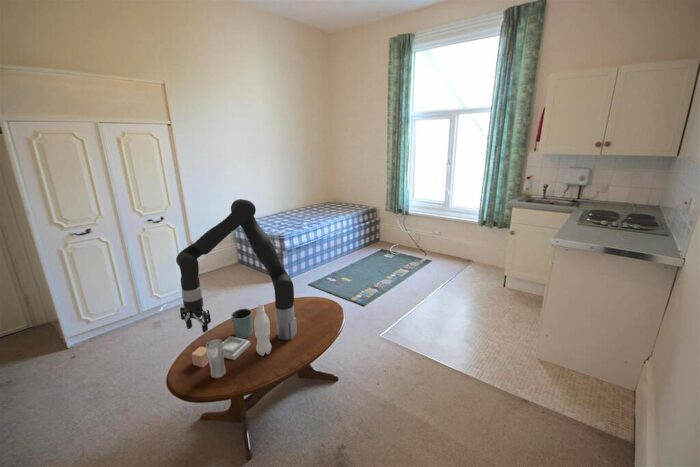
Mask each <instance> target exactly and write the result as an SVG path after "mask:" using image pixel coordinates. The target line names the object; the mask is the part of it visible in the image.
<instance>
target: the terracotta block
mask: <svg viewBox="0 0 700 467" xmlns="http://www.w3.org/2000/svg"><path fill="white" fill-rule="evenodd" d="M191 358H192V364H193V366H196V367H200V368H204V367H206V365H208V364H209V361H208V359H207V354H206V346H199V347H197V349H195V350H194V351H193V352H192V353H191Z"/></svg>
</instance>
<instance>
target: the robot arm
mask: <svg viewBox="0 0 700 467" xmlns="http://www.w3.org/2000/svg"><path fill="white" fill-rule="evenodd" d="M256 211H257V210H256V206H255V203H253V202H252V201H250V200H248V199H244V198H243V199H242V198H240V199H236V200H234V201H232V203H231V206H230V213H229V214H228V216H226V218H224V219H223V220H222V221H220V222H219V223H218V224H216V225H215V226H213V227H212V228H210V229H208V230H207V231H205V233H204V234H203V235H201V236H199V238H198V239H197V240H196V241H195V242H193V243H192V244H190V245H188V246H186V247H185V248H184V249H182V250H181V251H180V252H179V253H178V254H177V256H176V259H175V261H176V264H177V266H178V267H179V270H180V275H181V277H180V286H181V296H182V303H183V306H181V307H180V308H179V311H180V312H179V313H180V319H181V320H182V321H183V320H184V322H185V324H186V329H187V330H191V329H192V327H193V323H192V322H193V321H192V319H195V320H197V322H199V323H200V325H201V330H202V333H207V331H208V330H209V327H208V325H209V324H210V323H211V322H212V319H211V313H210V309H207V310H204V309H203V307H204V301H203V293H202V288H201V283H200V282H201V281H200V277H199V274H200V273H199V270H200V269H199V268H200V267H199V260H198V259H199V258H200V257H202V256H203V255H205V256H206V255H208V254H209V253H211V251H213V250H214V249H215V248H216V247H217V246H218V245H219V244H220V243H221V242H222V241H223V240H224V239H225V238H227V237H229V235H230V234H231V233H233V232H234V231H235V230H237V229H238V228H239V227H241V229H242V231H243V233H244V234H245V236H246V239H247V241H248V243H249V245H250V247H251V249H252V251H253V253H254V254H255V256H256V258H257V259H258V260H259V262H260V263H261V264H262V266H263V267H264V268H265V270H267V272H268V274H269V276H270V279H271V282H272V286H273V289H274V299H275V301H274V306H275V307H274V308H275V309H274V310H275V319H276V334H277V338H278V339H280V340H282V341H286V340H287V341H288V340H293V338H294V337H295V336H297V333H298V331H297V330H298V327H297V317H295V306H294V305H295V304H294V302H295V290H294V289H295V287H294V283H293V281H292V278H291V277H290V275H289V274H288V272H287V271H286V270H285V268H284V266H283V265H282V263H281V261H280V258H279V255H278V253H277V250H276V248H275V246H274V244H273V242H272V241H271V239H270V237H269V236H268V234H267V233H266V232H265V231H264V230H263V228H262V227H261V226H260V225H259V223H258V221H257V220H256V218H255V215H256Z"/></svg>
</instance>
